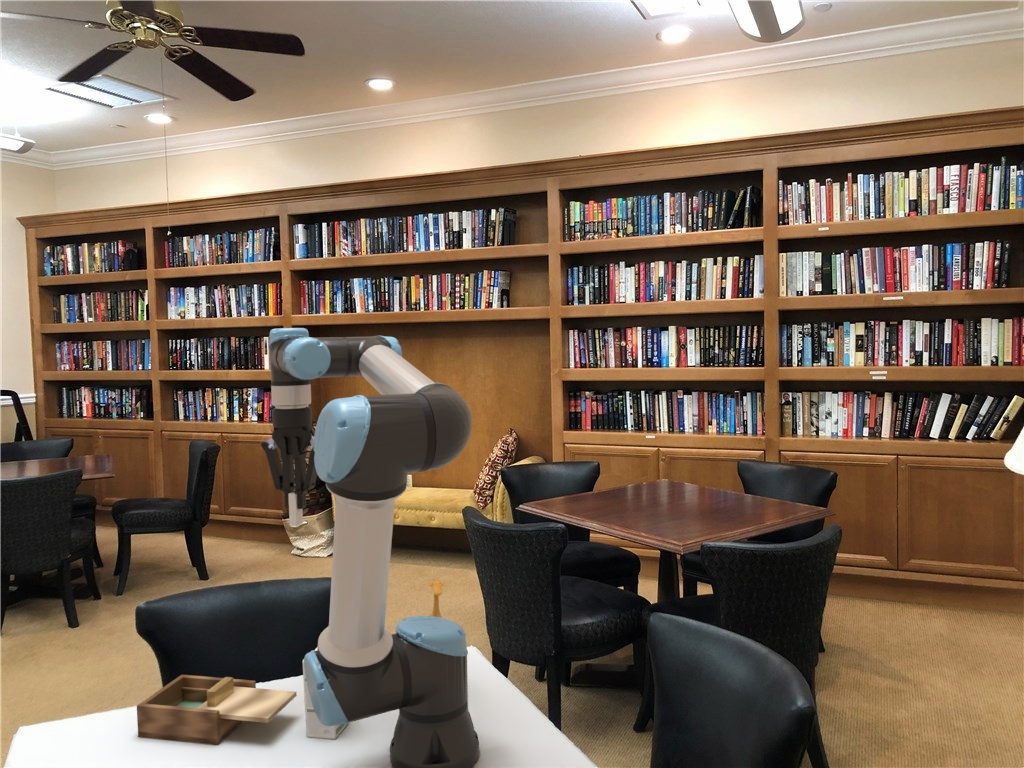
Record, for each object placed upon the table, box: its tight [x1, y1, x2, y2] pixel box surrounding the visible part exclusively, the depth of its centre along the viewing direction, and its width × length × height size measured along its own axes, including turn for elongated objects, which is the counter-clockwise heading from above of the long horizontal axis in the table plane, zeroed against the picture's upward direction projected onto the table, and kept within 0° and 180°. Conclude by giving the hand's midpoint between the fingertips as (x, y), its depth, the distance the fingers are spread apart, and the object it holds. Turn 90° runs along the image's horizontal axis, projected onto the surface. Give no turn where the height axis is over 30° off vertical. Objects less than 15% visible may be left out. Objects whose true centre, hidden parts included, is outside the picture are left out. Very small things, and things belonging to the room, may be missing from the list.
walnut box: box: [136, 674, 257, 746], centre depth 145 cm, size 16×13×6 cm
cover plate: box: [198, 676, 297, 724], centre depth 143 cm, size 15×10×4 cm
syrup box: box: [302, 646, 348, 740], centre depth 141 cm, size 6×6×14 cm
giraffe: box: [428, 576, 445, 618], centre depth 155 cm, size 16×4×25 cm, turn 10°
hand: (296, 524), depth 155 cm, fingers closed
